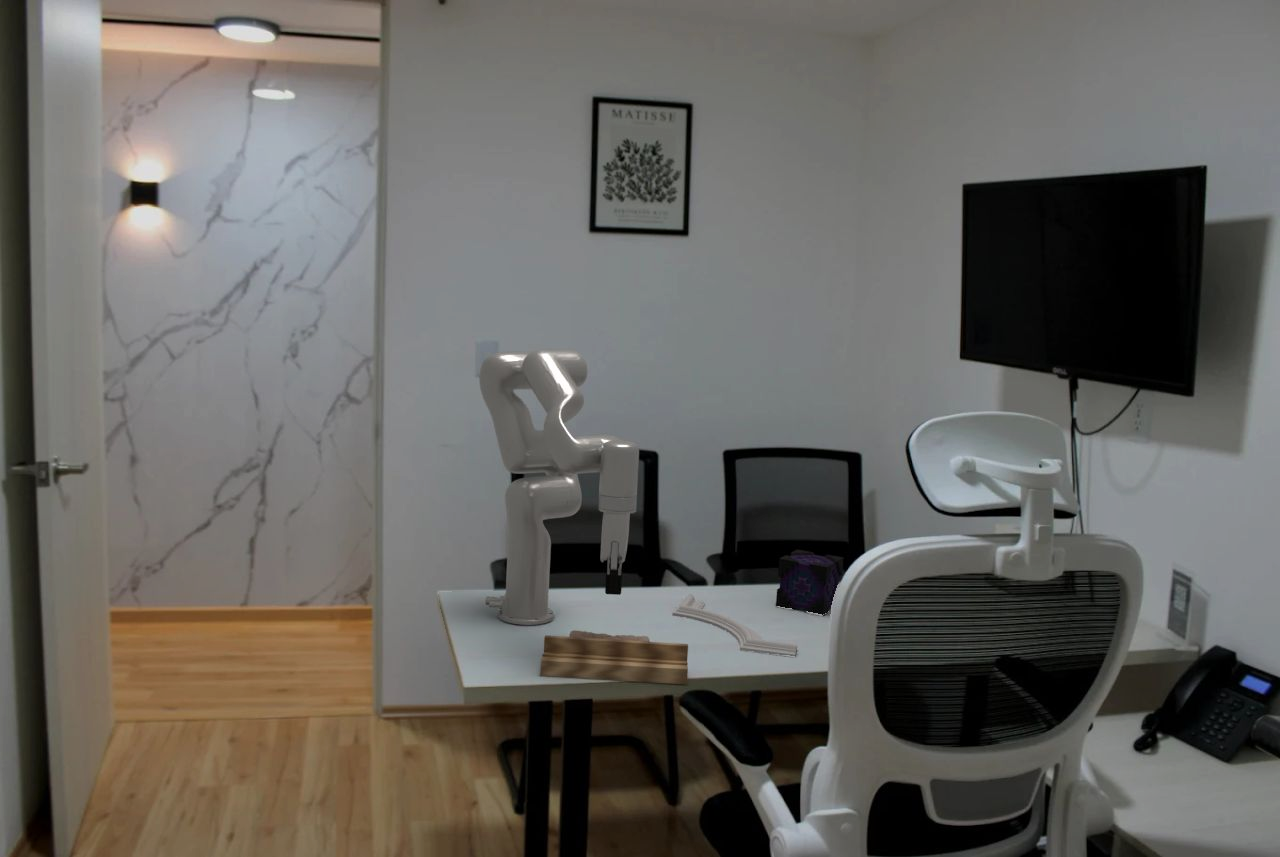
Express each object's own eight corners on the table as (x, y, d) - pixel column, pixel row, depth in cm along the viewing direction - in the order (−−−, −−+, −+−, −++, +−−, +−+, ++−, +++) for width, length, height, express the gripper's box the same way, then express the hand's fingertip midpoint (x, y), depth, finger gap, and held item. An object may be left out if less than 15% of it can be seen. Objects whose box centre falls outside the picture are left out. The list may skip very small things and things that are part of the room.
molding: (808, 658, 234) (810, 645, 234) (763, 665, 228) (764, 651, 227) (695, 603, 270) (696, 591, 269) (653, 607, 263) (654, 595, 263)
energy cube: (793, 596, 279) (797, 549, 277) (839, 605, 273) (843, 557, 272) (775, 607, 268) (779, 558, 267) (823, 616, 263) (827, 567, 261)
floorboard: (540, 675, 213) (541, 645, 212) (545, 658, 223) (547, 629, 222) (686, 684, 212) (688, 654, 212) (685, 666, 222) (687, 637, 222)
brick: (648, 655, 229) (650, 632, 228) (650, 668, 221) (651, 646, 220) (568, 651, 229) (569, 629, 228) (566, 665, 220) (567, 642, 220)
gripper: (600, 495, 228) (596, 582, 230) (596, 509, 213) (592, 602, 216) (637, 497, 228) (632, 584, 230) (635, 511, 213) (631, 604, 216)
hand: (613, 593), depth 223 cm, fingers closed
